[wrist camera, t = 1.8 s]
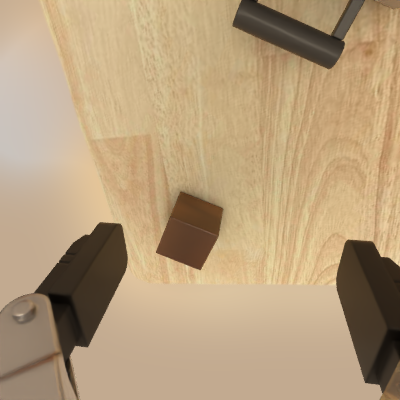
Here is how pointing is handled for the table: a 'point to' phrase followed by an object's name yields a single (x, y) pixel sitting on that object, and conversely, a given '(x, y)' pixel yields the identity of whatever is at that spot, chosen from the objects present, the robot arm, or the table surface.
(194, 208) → the block
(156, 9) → the table surface
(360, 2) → the drawer
